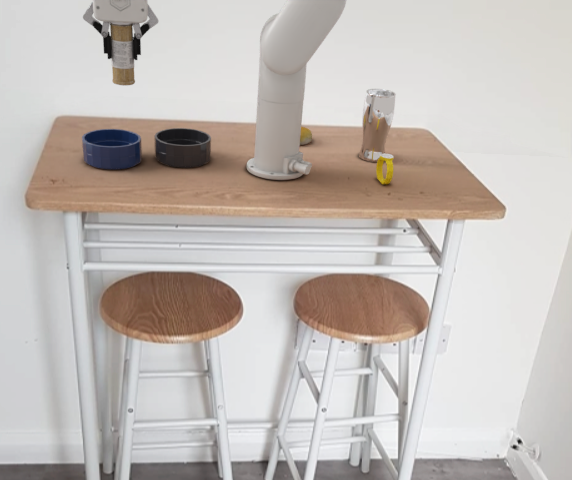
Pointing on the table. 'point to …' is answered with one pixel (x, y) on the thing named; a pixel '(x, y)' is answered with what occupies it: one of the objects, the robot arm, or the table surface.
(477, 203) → the table surface
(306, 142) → the bread roll
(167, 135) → the charcoal bowl
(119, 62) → the sprinkles bottle
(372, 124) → the beer glass
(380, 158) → the watch
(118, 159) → the navy bowl
